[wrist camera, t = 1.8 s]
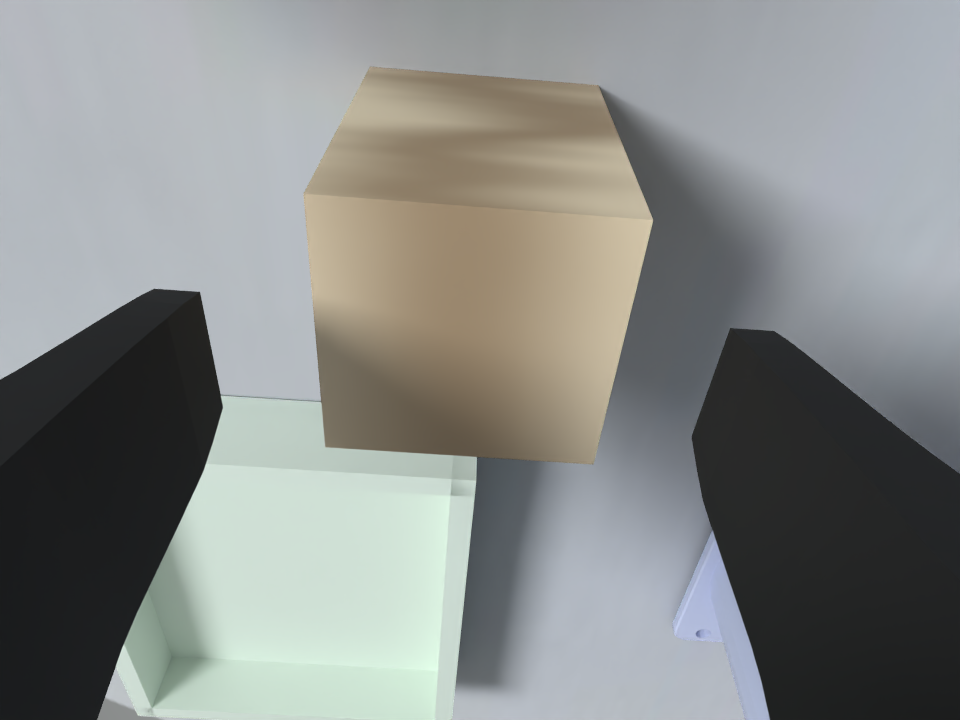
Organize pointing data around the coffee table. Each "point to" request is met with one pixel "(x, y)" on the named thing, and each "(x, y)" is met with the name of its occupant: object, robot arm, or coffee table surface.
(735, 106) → the coffee table surface
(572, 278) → the maple block
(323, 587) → the serving tray
